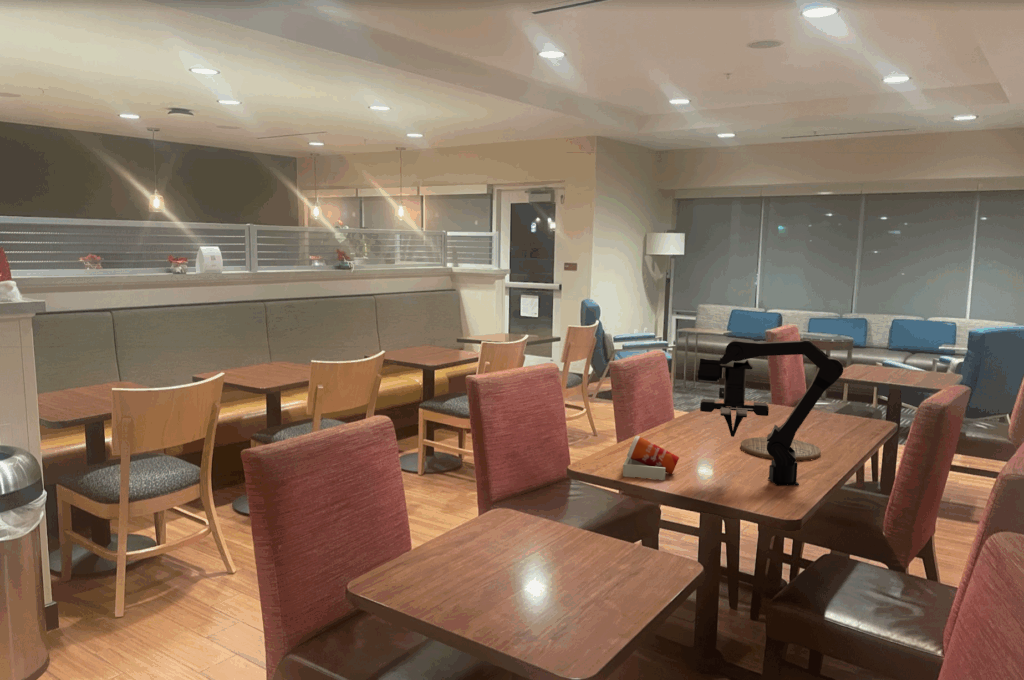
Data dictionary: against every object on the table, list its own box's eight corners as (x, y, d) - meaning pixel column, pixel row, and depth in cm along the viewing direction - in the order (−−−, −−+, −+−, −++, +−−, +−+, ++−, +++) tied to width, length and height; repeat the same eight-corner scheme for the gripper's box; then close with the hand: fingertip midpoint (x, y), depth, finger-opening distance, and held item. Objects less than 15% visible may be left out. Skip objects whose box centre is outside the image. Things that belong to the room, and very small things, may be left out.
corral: (668, 467, 214) (668, 456, 214) (664, 480, 202) (665, 468, 201) (628, 464, 218) (629, 453, 217) (622, 476, 205) (623, 464, 205)
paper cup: (672, 474, 202) (626, 453, 206) (669, 480, 209) (625, 460, 213) (682, 450, 205) (637, 430, 208) (679, 457, 212) (635, 438, 215)
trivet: (741, 439, 251) (741, 434, 251) (817, 446, 243) (817, 440, 243) (739, 457, 228) (739, 451, 227) (823, 465, 219) (823, 459, 219)
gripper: (767, 380, 208) (765, 432, 210) (702, 377, 213) (700, 427, 215) (769, 387, 197) (767, 441, 199) (701, 383, 203) (699, 436, 204)
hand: (732, 436), depth 205 cm, fingers closed
